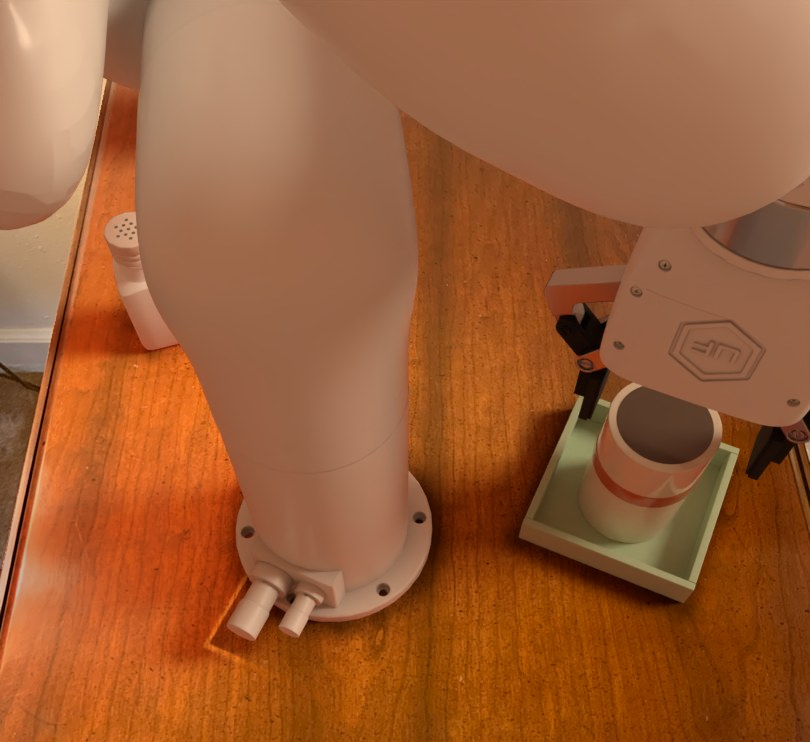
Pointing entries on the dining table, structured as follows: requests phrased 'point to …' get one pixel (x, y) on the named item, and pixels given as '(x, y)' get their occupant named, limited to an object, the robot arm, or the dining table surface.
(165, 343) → the pepper shaker
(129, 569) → the dining table surface
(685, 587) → the tray
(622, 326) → the robot arm
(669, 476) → the tumbler
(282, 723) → the dining table surface
